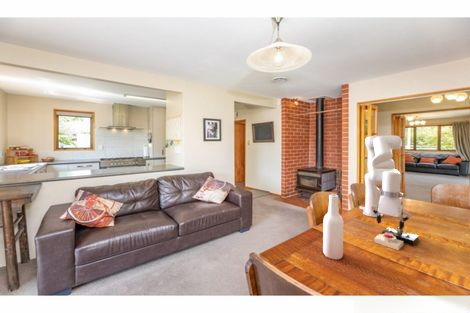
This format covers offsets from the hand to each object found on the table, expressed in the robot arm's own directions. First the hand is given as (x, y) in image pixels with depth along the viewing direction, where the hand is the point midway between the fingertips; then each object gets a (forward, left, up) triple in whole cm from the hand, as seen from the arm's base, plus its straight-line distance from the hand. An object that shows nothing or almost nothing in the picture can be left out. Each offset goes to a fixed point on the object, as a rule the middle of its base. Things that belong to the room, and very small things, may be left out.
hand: (389, 225), depth 109 cm
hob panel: (+2, +11, -10) cm, 15 cm away
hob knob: (+2, +11, -7) cm, 13 cm away
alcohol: (-13, -34, -10) cm, 38 cm away
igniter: (0, 0, -10) cm, 10 cm away
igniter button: (0, 0, -6) cm, 6 cm away
